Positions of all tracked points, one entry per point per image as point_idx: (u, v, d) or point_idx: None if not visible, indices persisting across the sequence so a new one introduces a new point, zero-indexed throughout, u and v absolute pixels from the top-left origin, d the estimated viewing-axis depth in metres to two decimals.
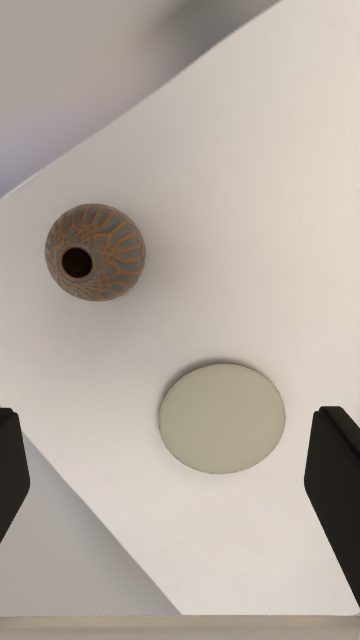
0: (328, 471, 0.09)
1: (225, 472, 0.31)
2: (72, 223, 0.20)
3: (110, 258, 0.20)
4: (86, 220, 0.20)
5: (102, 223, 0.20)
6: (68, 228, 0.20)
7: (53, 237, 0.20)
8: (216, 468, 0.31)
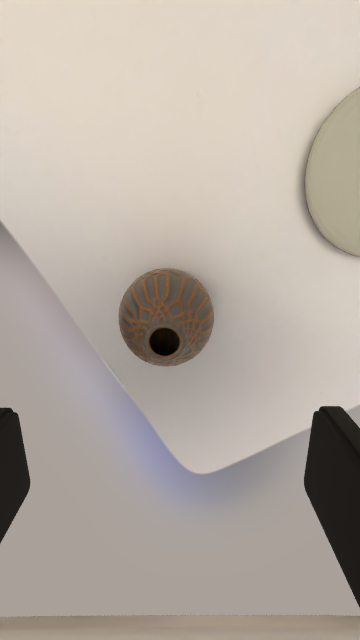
0: (328, 471, 0.09)
1: None
2: (131, 340, 0.21)
3: (162, 308, 0.19)
4: (128, 327, 0.21)
5: (131, 312, 0.20)
6: (135, 344, 0.20)
7: (145, 358, 0.21)
8: None
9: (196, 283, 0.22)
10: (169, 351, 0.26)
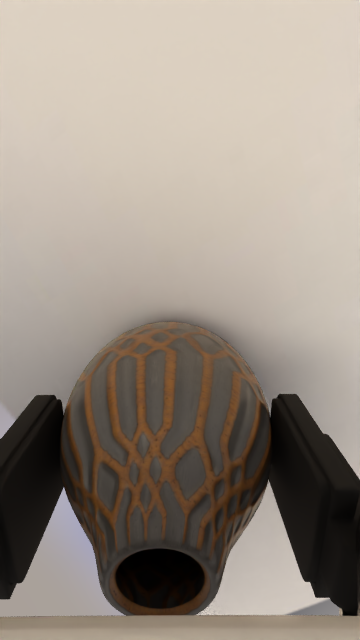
0: (281, 453, 0.09)
1: None
2: (79, 522, 0.08)
3: (156, 468, 0.07)
4: (71, 492, 0.08)
5: (76, 457, 0.08)
6: (88, 537, 0.08)
7: None
8: None
9: (236, 366, 0.10)
10: None
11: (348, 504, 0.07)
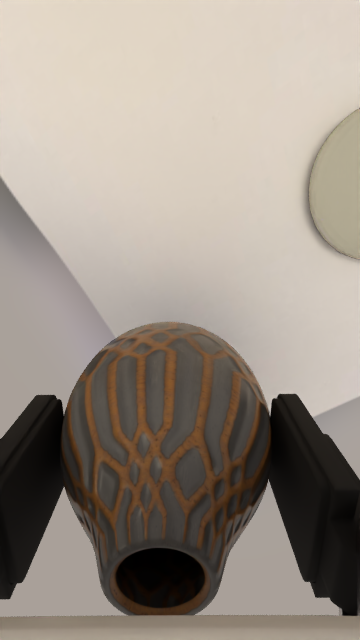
0: (281, 453, 0.09)
1: None
2: (80, 522, 0.08)
3: (156, 468, 0.07)
4: (71, 492, 0.08)
5: (76, 457, 0.08)
6: None
7: None
8: None
9: (236, 366, 0.10)
10: None
11: (348, 504, 0.07)
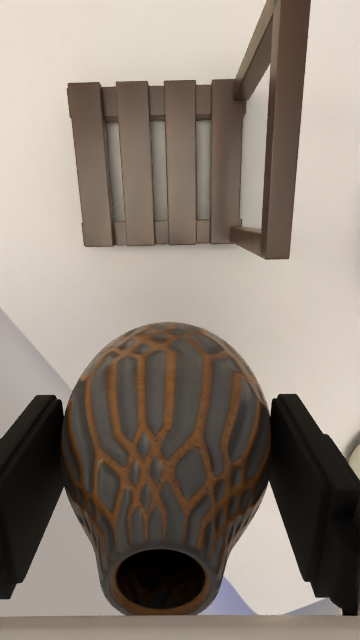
0: (281, 453, 0.09)
1: None
2: (80, 522, 0.08)
3: (156, 469, 0.07)
4: (71, 492, 0.08)
5: (76, 458, 0.08)
6: None
7: None
8: None
9: (236, 366, 0.10)
10: None
11: (348, 504, 0.07)
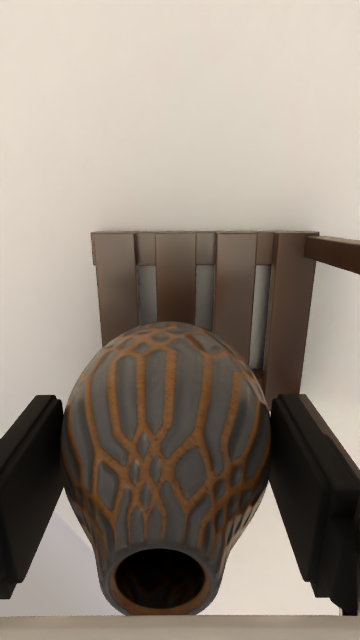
0: (281, 453, 0.09)
1: None
2: (79, 522, 0.08)
3: (156, 468, 0.07)
4: (71, 492, 0.08)
5: (76, 457, 0.08)
6: None
7: None
8: None
9: (236, 365, 0.10)
10: None
11: (348, 504, 0.07)
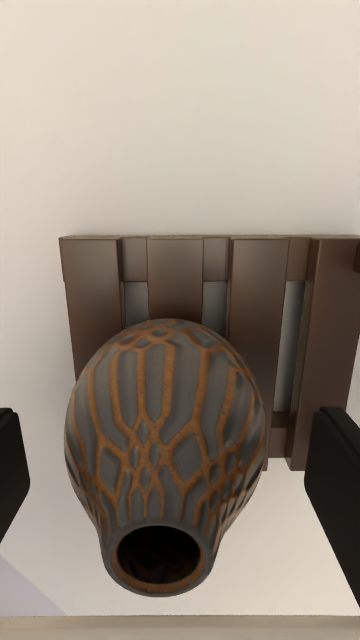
0: (328, 471, 0.09)
1: None
2: (83, 506, 0.09)
3: (155, 453, 0.07)
4: (75, 477, 0.09)
5: (80, 445, 0.08)
6: (91, 520, 0.09)
7: None
8: None
9: (232, 360, 0.10)
10: None
11: None
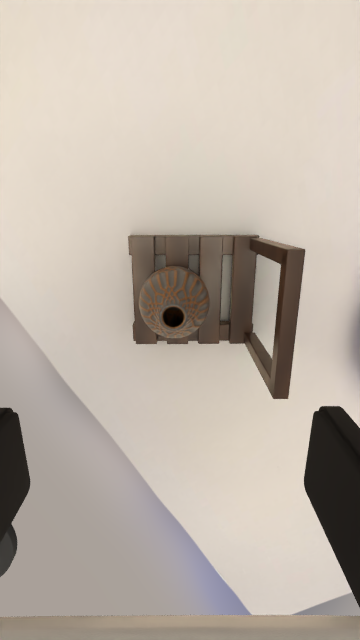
0: (328, 471, 0.09)
1: None
2: (149, 317, 0.29)
3: (172, 293, 0.27)
4: (147, 308, 0.29)
5: (149, 297, 0.28)
6: (152, 320, 0.28)
7: (159, 331, 0.29)
8: None
9: (196, 276, 0.30)
10: None
11: None
